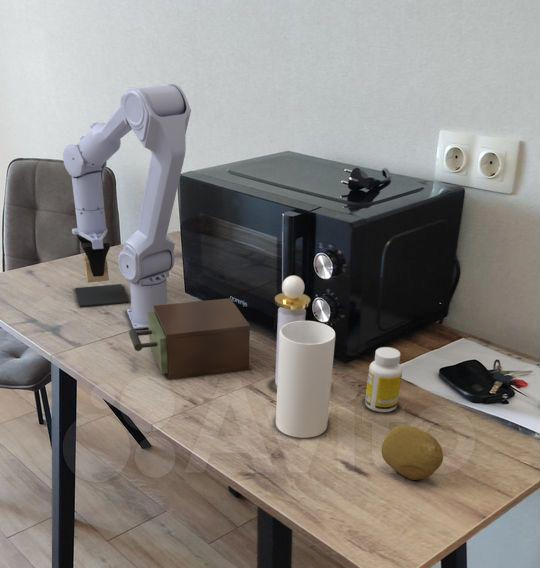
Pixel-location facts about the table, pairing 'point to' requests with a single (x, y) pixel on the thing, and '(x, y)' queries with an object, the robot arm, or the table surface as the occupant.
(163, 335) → the drawer
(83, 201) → the robot arm
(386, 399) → the supplement bottle
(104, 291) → the mat
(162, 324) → the cabinet
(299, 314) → the perfume bottle
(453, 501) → the table surface
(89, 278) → the block
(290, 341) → the cup
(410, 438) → the potato
